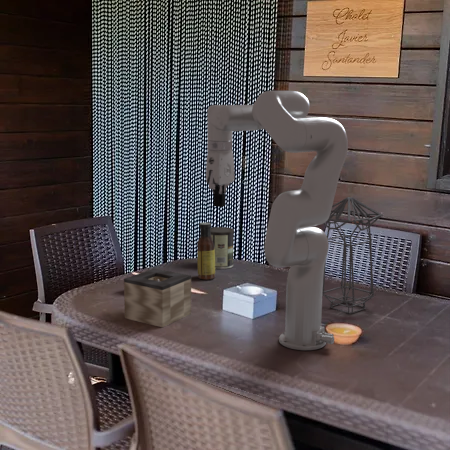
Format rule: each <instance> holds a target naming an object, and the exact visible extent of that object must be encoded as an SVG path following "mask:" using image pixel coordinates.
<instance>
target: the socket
mask: <svg viewBox="0 0 450 450" xmlns="http://www.w3.org/2000/svg"><path fill="white" fill-rule="evenodd" d="M133 275H134V276H133ZM133 275H131V276H127V277H125V278H123V293H124V302H123V303H124V319H127V320H131V321H135V322H139V323H143V324H147V325H150V326H151V325H152V326H155V327H160V328H164V327H166V326H168V325H169V326H170V325H171V324H173V323H176V322H177V321H180V320H182V319H183V318H185V317H187V316H190V315H192V275H190V274H185V273H180V272H174V271H170V270H165V269H164V270H163V269H158V268H151V269H149V270H146V271H143V272H139V273H137V274H133ZM158 279H159V281H157V280H158Z"/></svg>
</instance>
